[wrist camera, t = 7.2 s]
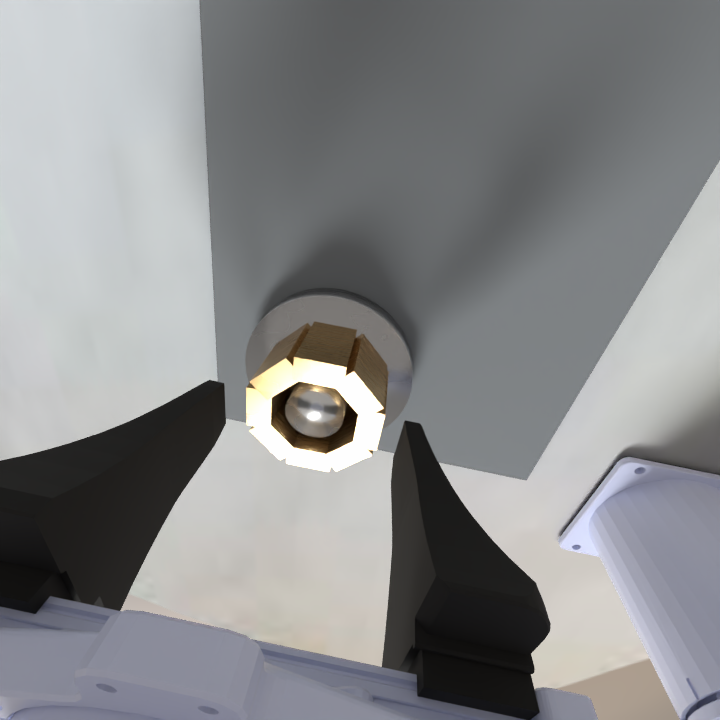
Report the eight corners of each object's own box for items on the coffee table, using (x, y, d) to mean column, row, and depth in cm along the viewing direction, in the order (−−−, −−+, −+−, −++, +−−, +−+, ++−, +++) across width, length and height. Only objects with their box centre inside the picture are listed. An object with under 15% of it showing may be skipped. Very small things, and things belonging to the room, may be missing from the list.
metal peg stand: (431, 307, 16) (438, 349, 12) (392, 439, 20) (390, 498, 16) (255, 272, 16) (213, 303, 12) (253, 410, 20) (221, 463, 16)
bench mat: (799, 9, 10) (813, 4, 10) (524, 474, 20) (526, 480, 20) (201, -103, 10) (194, -113, 10) (222, 412, 20) (219, 417, 20)
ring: (396, 337, 15) (394, 376, 12) (374, 430, 18) (369, 480, 15) (274, 313, 15) (246, 347, 12) (271, 410, 18) (246, 455, 15)
